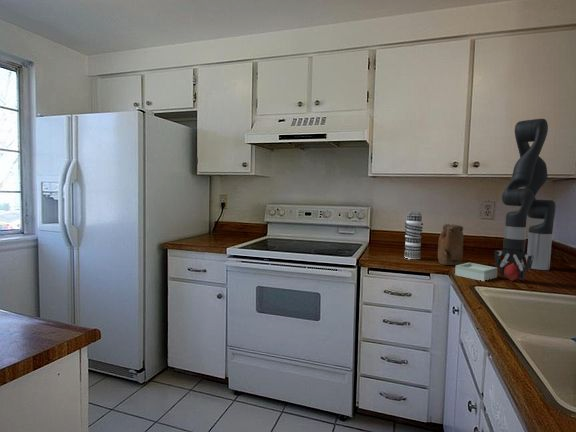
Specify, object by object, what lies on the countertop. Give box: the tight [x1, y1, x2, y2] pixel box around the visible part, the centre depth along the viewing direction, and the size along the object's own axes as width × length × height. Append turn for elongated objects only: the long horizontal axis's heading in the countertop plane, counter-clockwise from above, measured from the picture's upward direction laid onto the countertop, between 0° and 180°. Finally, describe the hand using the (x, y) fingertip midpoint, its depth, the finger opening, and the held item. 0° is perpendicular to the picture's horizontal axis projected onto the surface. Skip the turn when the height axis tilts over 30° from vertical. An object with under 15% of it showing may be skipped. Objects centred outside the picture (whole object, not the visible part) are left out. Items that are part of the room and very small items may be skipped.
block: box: [437, 223, 464, 266], centre depth 170 cm, size 11×8×20 cm
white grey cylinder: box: [403, 211, 424, 260], centre depth 183 cm, size 9×9×25 cm
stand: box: [454, 262, 499, 282], centre depth 148 cm, size 12×12×4 cm
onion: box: [504, 261, 520, 282], centre depth 141 cm, size 6×6×8 cm
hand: (511, 277), depth 141 cm, fingers closed on onion, 6 cm apart
